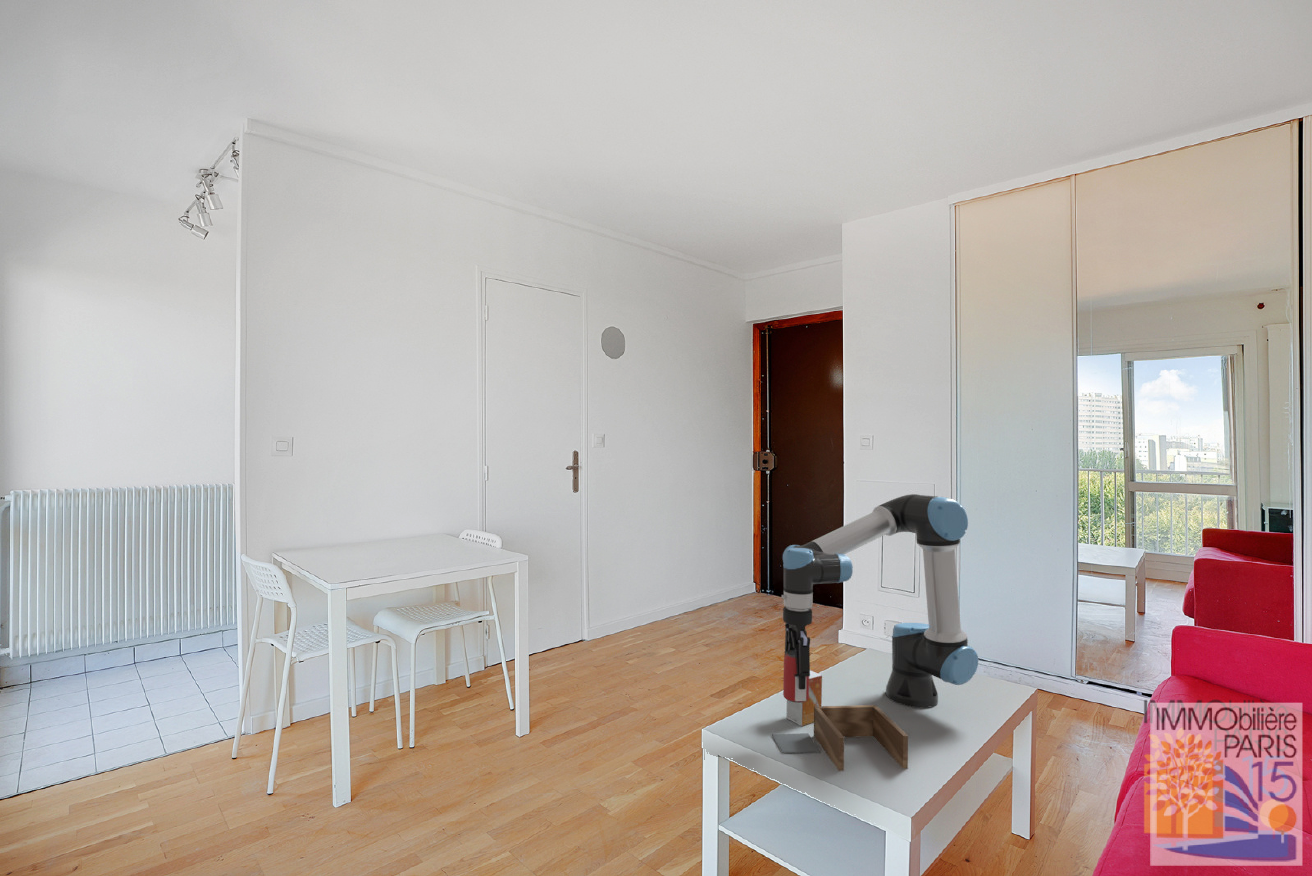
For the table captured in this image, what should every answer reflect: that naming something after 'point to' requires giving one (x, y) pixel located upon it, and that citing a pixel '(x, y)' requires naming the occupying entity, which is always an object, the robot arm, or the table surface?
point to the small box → (806, 702)
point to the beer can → (791, 677)
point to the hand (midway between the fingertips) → (796, 694)
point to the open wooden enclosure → (858, 731)
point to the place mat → (796, 743)
